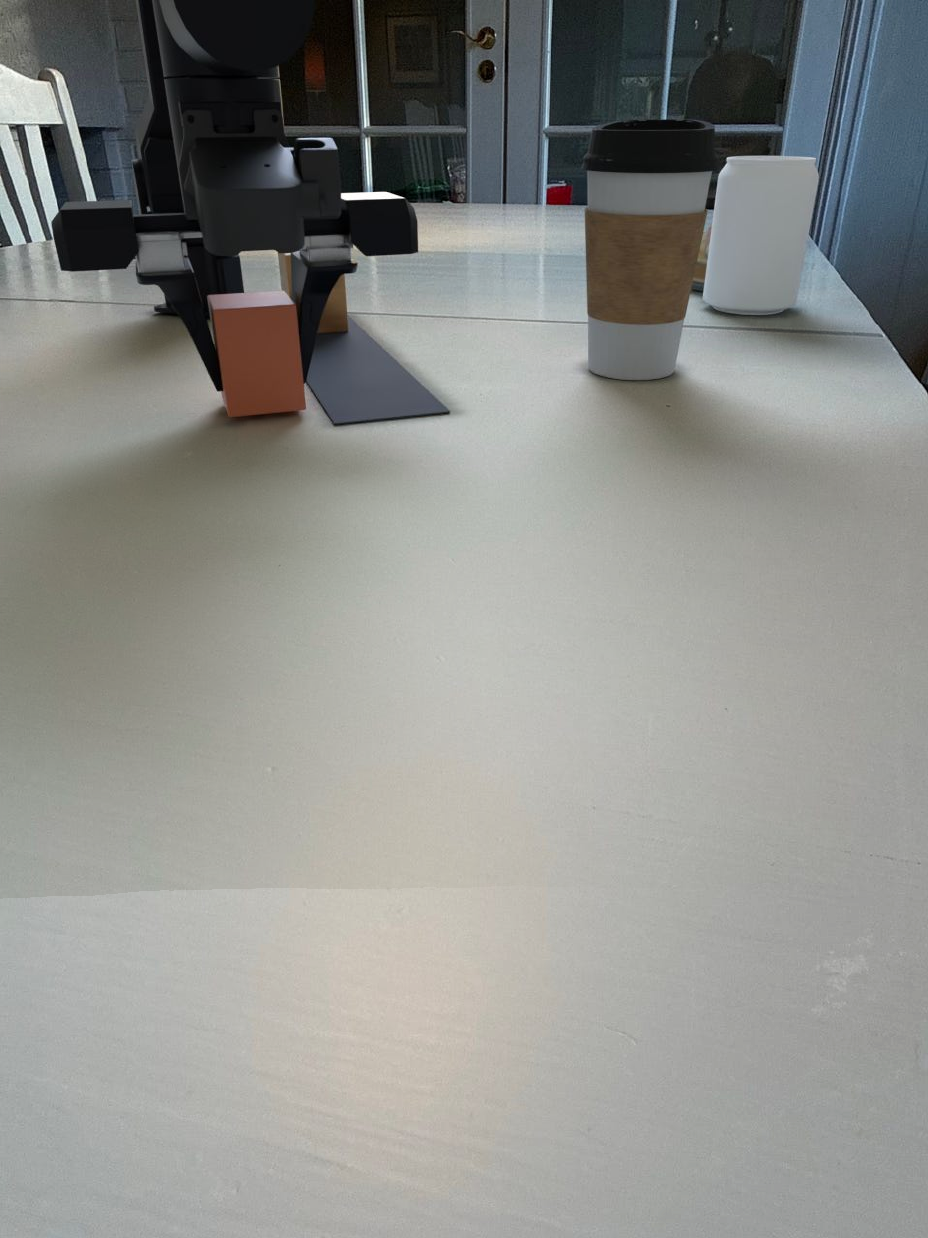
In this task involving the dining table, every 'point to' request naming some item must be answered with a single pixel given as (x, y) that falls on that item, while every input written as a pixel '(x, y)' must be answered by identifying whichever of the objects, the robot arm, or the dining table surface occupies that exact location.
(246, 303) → the terracotta block
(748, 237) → the beverage can
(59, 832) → the dining table surface
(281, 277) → the wood block
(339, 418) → the line strip
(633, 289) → the coffee cup
